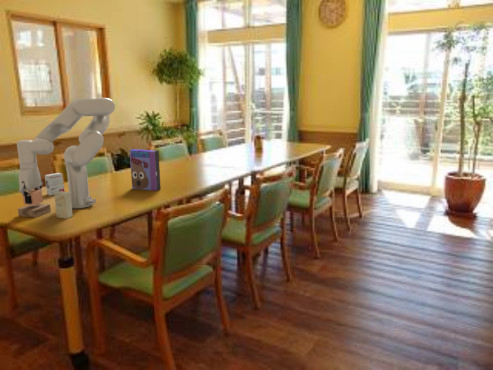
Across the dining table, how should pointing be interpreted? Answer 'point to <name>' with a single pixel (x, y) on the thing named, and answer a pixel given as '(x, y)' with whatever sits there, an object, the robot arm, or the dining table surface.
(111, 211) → the dining table surface
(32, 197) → the terracotta cube
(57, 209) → the skincare box
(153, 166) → the cereal box
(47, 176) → the ink box
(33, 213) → the walnut block
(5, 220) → the dining table surface
